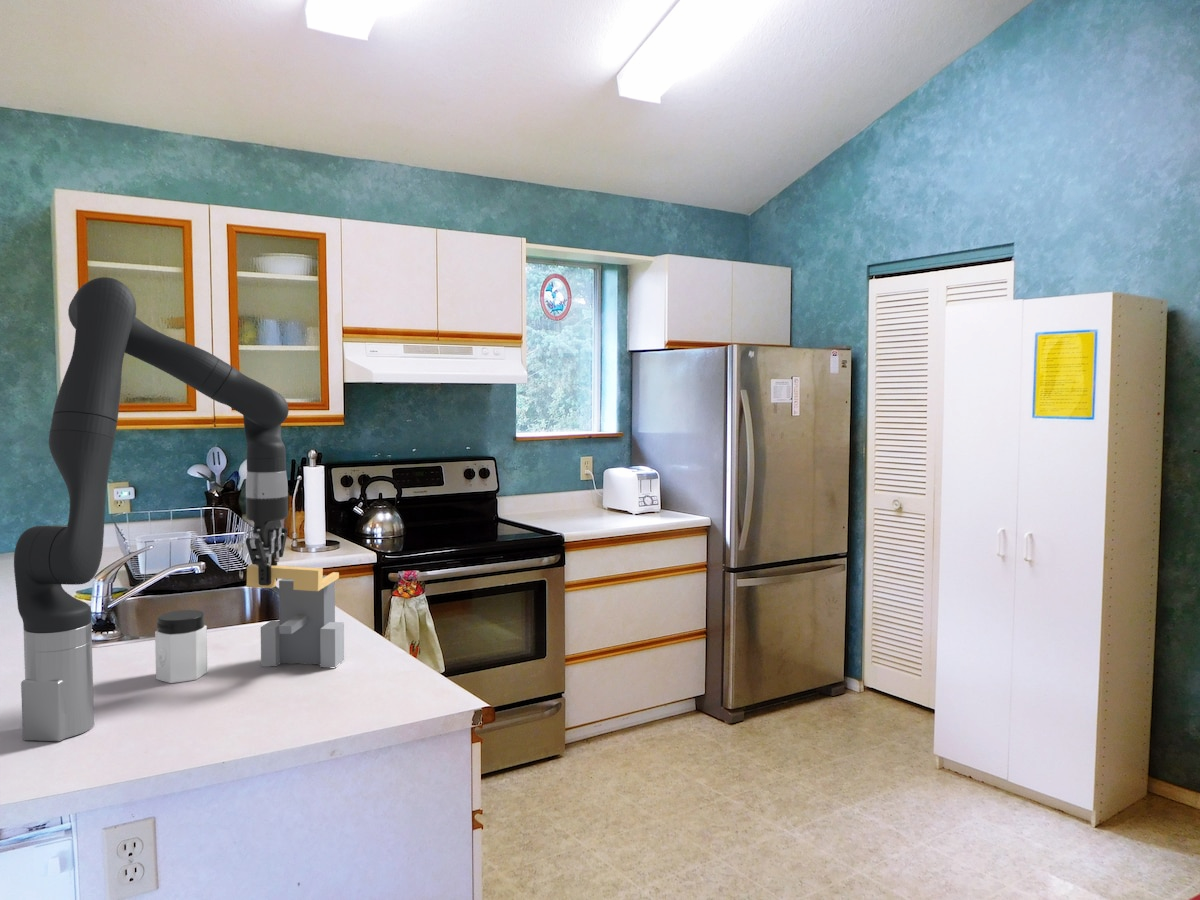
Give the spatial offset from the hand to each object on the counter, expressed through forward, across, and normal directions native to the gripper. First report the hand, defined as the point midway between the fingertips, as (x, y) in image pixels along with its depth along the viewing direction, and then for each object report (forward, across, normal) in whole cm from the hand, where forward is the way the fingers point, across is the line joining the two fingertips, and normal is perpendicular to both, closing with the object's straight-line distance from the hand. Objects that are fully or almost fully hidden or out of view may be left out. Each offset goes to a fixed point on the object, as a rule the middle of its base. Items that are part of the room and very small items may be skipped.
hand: (268, 582), depth 164 cm
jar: (+18, -2, +16) cm, 25 cm away
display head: (+18, +6, -4) cm, 19 cm away
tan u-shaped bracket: (+1, +5, -3) cm, 6 cm away
